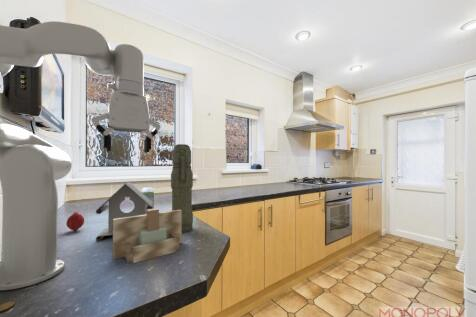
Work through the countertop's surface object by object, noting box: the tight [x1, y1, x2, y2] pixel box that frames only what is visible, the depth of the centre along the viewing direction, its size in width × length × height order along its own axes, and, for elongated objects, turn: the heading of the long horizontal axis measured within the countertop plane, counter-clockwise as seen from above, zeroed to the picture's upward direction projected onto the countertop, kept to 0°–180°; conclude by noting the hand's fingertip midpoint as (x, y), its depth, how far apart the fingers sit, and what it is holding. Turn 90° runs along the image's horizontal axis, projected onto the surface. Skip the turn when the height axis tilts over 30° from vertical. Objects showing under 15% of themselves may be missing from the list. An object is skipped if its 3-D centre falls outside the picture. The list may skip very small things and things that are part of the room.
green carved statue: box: [170, 143, 194, 233], centre depth 86 cm, size 9×12×35 cm
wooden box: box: [112, 210, 182, 264], centre depth 63 cm, size 20×8×11 cm, turn 127°
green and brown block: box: [138, 207, 166, 246], centre depth 63 cm, size 7×4×12 cm, turn 128°
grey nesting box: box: [95, 181, 153, 242], centre depth 81 cm, size 18×10×20 cm, turn 109°
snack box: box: [141, 186, 155, 214], centre depth 102 cm, size 21×6×15 cm, turn 23°
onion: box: [66, 210, 85, 232], centre depth 85 cm, size 6×6×8 cm
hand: (128, 151), depth 58 cm, fingers open, 9 cm apart
